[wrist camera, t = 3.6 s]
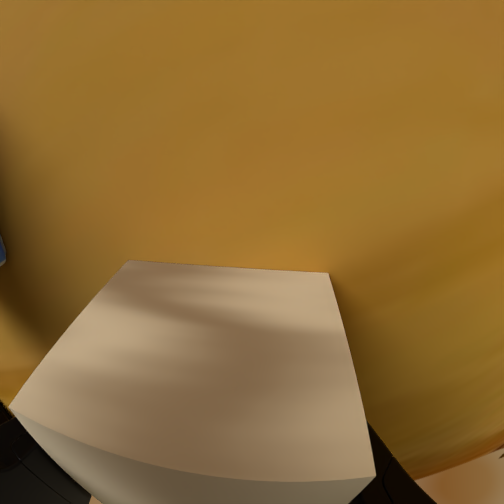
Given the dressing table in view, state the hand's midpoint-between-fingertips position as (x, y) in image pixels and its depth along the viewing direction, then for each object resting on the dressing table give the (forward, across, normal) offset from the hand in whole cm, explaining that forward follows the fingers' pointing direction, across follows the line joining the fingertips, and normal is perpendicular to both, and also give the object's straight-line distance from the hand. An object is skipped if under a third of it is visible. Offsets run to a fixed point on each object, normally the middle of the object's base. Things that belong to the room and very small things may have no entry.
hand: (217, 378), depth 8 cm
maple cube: (+2, 0, 0) cm, 2 cm away
